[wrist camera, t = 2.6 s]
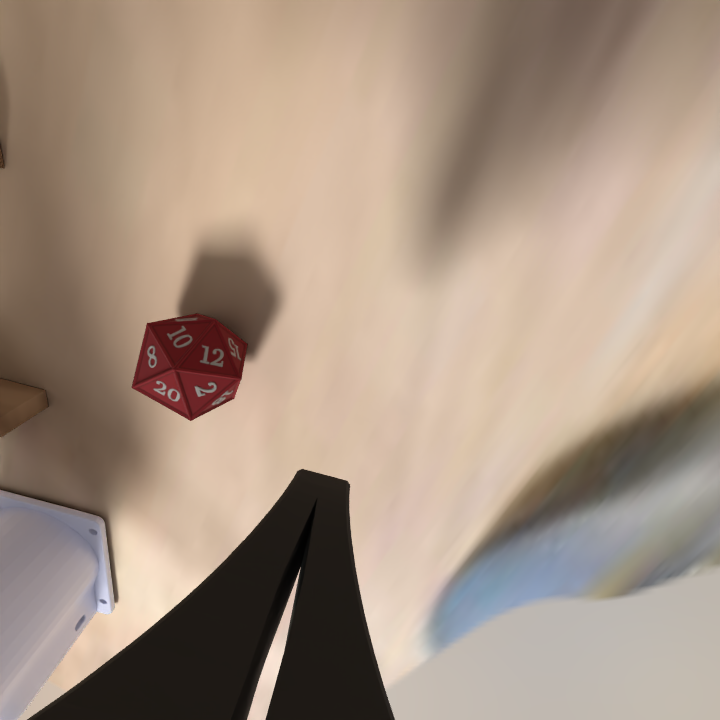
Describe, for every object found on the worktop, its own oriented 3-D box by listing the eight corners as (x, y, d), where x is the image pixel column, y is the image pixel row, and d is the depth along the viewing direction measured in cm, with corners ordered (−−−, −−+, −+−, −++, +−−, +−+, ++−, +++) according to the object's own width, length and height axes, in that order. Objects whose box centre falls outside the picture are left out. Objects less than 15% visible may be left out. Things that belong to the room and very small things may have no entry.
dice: (161, 358, 17) (96, 406, 14) (196, 276, 15) (130, 308, 12) (236, 401, 18) (191, 458, 14) (278, 327, 16) (239, 372, 12)
